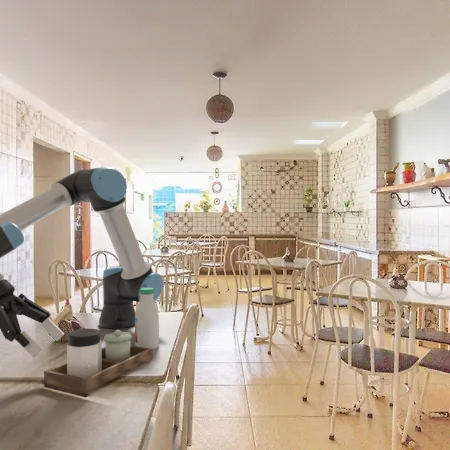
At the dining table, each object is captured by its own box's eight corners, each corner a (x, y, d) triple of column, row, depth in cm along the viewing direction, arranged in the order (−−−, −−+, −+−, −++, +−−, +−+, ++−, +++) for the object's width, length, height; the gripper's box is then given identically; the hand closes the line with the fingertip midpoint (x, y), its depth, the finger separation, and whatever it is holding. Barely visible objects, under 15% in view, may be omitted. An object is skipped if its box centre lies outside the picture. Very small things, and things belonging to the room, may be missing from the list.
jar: (71, 386, 106) (70, 339, 105) (63, 376, 112) (63, 331, 112) (106, 378, 111) (106, 333, 110) (97, 369, 117) (96, 326, 117)
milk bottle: (163, 347, 140) (163, 287, 140) (150, 354, 133) (149, 291, 133) (144, 344, 144) (144, 285, 143) (130, 350, 137) (129, 289, 136)
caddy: (115, 355, 132) (115, 342, 132) (152, 362, 126) (152, 348, 126) (44, 386, 108) (44, 371, 108) (85, 397, 102) (84, 380, 102)
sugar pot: (116, 356, 128) (116, 325, 128) (136, 360, 125) (136, 328, 124) (98, 364, 121) (98, 331, 121) (119, 369, 118) (119, 334, 118)
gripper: (8, 289, 124) (59, 340, 124) (-49, 308, 99) (16, 372, 99) (26, 271, 124) (77, 323, 124) (-27, 286, 99) (38, 350, 99)
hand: (50, 345), depth 111 cm, fingers open, 13 cm apart
